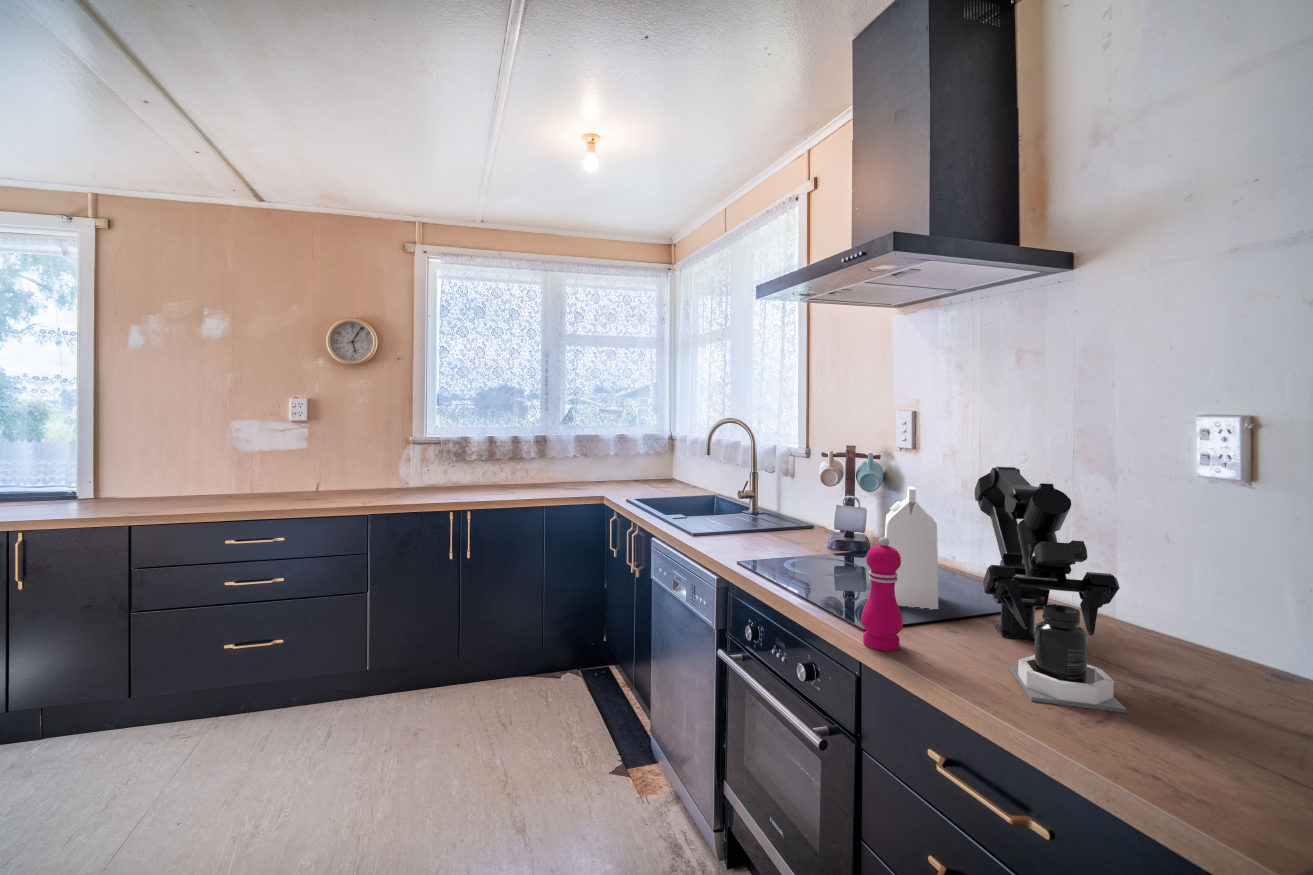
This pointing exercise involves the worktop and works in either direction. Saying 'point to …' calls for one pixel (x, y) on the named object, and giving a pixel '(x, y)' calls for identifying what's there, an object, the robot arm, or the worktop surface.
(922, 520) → the milk
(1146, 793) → the worktop surface
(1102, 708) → the collar seat
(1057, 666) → the supplement bottle
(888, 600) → the pepper mill
